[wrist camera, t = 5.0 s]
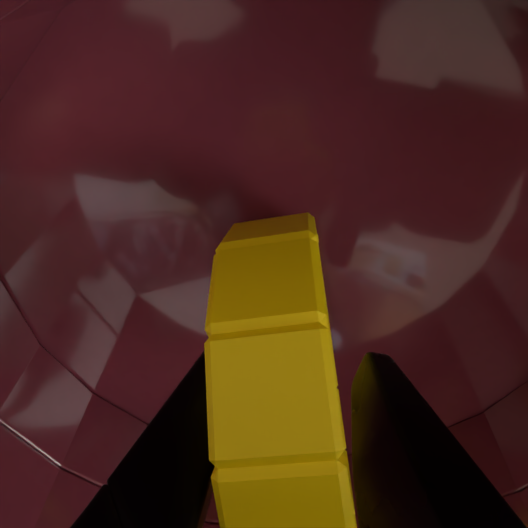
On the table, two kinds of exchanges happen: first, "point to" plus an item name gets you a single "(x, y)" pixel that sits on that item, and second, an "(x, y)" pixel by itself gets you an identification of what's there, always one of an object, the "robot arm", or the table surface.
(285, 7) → the red pet bowl
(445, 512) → the robot arm
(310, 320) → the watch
